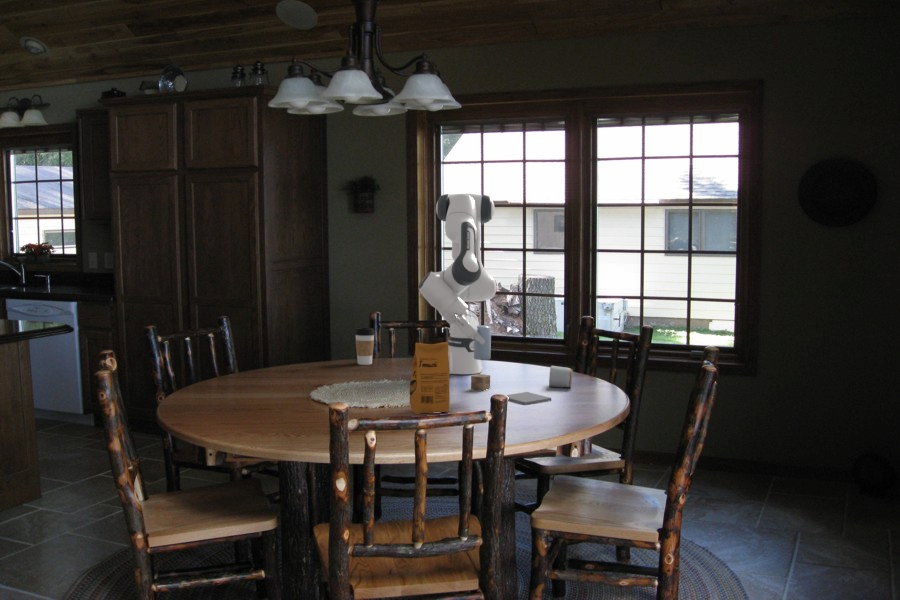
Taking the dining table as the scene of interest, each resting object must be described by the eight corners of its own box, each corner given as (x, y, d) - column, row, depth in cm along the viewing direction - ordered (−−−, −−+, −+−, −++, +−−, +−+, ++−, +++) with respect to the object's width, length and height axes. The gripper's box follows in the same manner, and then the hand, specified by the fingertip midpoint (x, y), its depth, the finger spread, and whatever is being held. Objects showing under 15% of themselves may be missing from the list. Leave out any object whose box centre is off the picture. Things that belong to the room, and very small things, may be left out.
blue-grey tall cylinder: (470, 358, 289) (471, 326, 288) (483, 356, 292) (483, 325, 291) (480, 360, 285) (481, 328, 283) (493, 358, 288) (494, 326, 287)
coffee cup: (353, 365, 349) (353, 329, 347) (356, 361, 357) (356, 326, 356) (373, 365, 348) (373, 329, 347) (376, 362, 357) (376, 326, 355)
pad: (501, 398, 288) (501, 396, 288) (527, 394, 295) (527, 391, 295) (525, 404, 279) (525, 402, 279) (551, 400, 286) (551, 397, 286)
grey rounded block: (571, 389, 304) (572, 368, 304) (548, 388, 306) (549, 367, 305) (572, 384, 315) (573, 363, 314) (550, 383, 316) (551, 363, 315)
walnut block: (470, 389, 303) (471, 375, 302) (478, 387, 307) (478, 373, 306) (482, 391, 300) (483, 377, 299) (490, 389, 304) (490, 375, 304)
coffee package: (408, 408, 272) (408, 340, 270) (445, 406, 275) (446, 339, 272) (412, 415, 263) (412, 345, 260) (451, 413, 265) (452, 344, 263)
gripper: (460, 309, 277) (490, 339, 277) (464, 302, 297) (491, 331, 297) (447, 322, 278) (476, 352, 278) (451, 315, 298) (479, 343, 298)
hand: (484, 341), depth 288 cm, fingers closed on blue-grey tall cylinder, 6 cm apart
